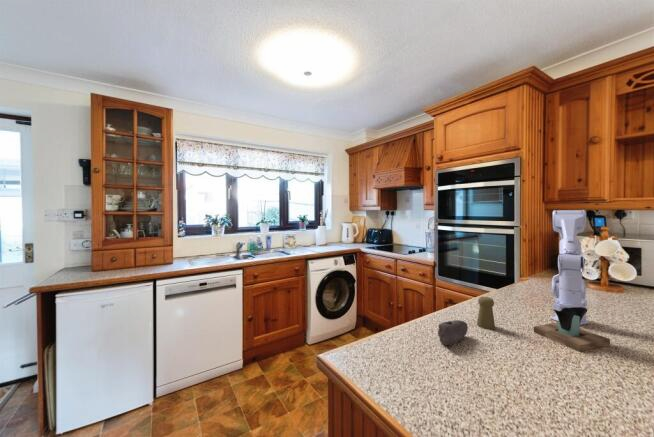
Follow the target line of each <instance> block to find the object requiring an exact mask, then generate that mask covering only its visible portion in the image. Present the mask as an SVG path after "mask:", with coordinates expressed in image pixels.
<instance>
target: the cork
mask: <svg viewBox="0 0 654 437" xmlns="http://www.w3.org/2000/svg"><path fill="white" fill-rule="evenodd" d="M477 302H478V303H477V304H478V305H479V308H478V315H477V320H476V326H477V327H479V328H482V329H485V330H494V329H496V323H495V317H494V308H493V307H494V305H495V301H494V299H493V298H492V297H489V296H480V297H478V300H477Z"/></svg>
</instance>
